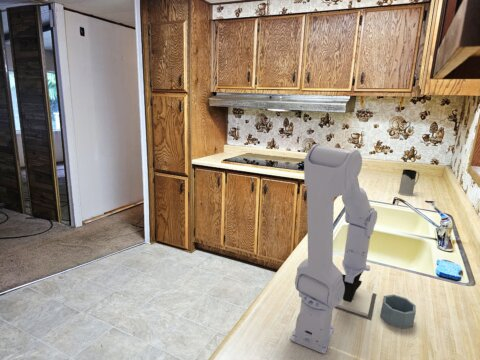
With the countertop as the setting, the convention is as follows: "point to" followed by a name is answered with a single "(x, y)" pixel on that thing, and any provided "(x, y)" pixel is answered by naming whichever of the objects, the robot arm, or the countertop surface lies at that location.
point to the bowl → (398, 311)
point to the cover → (358, 302)
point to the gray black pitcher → (408, 182)
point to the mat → (360, 314)
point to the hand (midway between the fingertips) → (349, 293)
